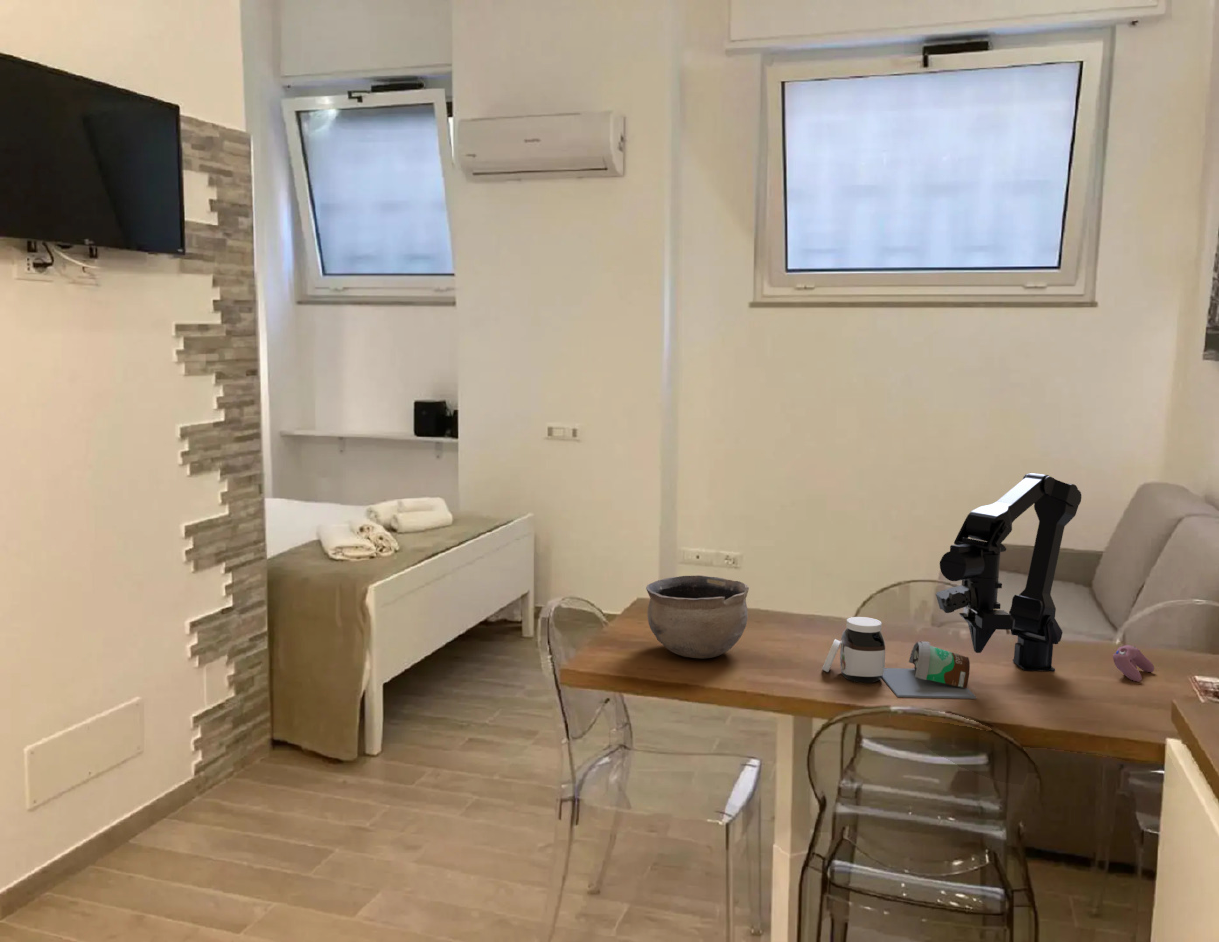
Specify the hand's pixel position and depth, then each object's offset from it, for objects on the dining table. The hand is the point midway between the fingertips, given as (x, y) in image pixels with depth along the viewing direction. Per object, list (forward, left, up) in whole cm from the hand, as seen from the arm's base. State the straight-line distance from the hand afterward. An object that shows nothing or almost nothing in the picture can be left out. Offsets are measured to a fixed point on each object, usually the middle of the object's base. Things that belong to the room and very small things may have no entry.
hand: (977, 652), depth 193 cm
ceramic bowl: (+54, -17, -7) cm, 57 cm away
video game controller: (-36, -8, -7) cm, 37 cm away
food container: (+2, -1, -3) cm, 4 cm away
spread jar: (+24, -4, -7) cm, 25 cm away
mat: (+10, 0, -7) cm, 12 cm away
